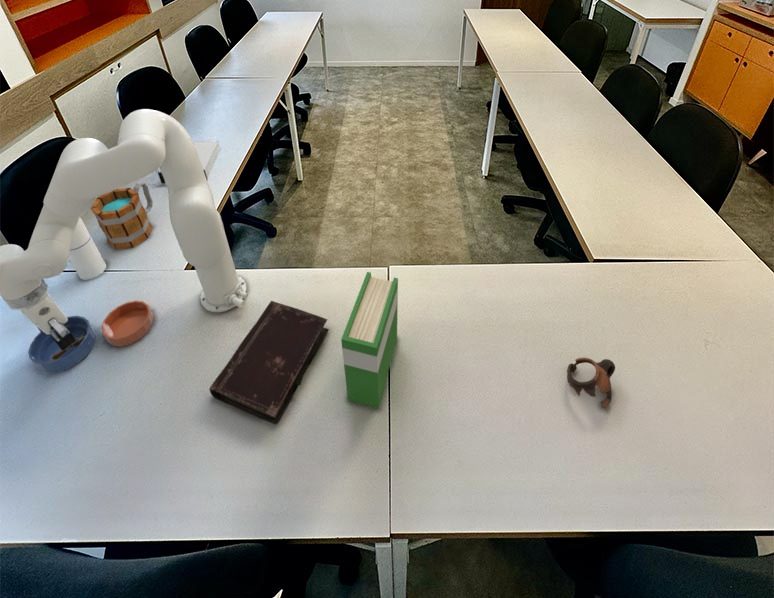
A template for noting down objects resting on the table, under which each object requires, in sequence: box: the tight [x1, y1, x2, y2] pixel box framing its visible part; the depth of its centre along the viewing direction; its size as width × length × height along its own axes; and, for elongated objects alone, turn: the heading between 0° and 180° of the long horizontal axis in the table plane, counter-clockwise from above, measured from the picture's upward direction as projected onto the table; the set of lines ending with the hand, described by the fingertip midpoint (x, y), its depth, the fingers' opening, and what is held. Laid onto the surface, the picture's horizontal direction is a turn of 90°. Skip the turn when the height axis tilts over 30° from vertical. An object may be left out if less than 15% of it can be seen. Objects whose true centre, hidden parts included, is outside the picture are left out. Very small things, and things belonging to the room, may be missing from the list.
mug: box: [90, 181, 153, 250], centre depth 141 cm, size 20×14×15 cm
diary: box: [209, 300, 330, 425], centre depth 104 cm, size 19×25×5 cm
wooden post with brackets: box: [50, 334, 85, 360], centre depth 108 cm, size 2×8×4 cm
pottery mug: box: [566, 357, 616, 409], centre depth 100 cm, size 12×10×8 cm
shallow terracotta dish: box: [100, 300, 155, 347], centre depth 114 cm, size 11×11×3 cm
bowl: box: [27, 315, 97, 374], centre depth 108 cm, size 13×13×4 cm
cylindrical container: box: [68, 216, 107, 281], centre depth 124 cm, size 7×7×25 cm
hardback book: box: [340, 271, 399, 409], centre depth 98 cm, size 18×7×24 cm, turn 165°
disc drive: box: [157, 140, 221, 184], centre depth 175 cm, size 18×22×5 cm
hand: (58, 336), depth 106 cm, fingers open, 9 cm apart
